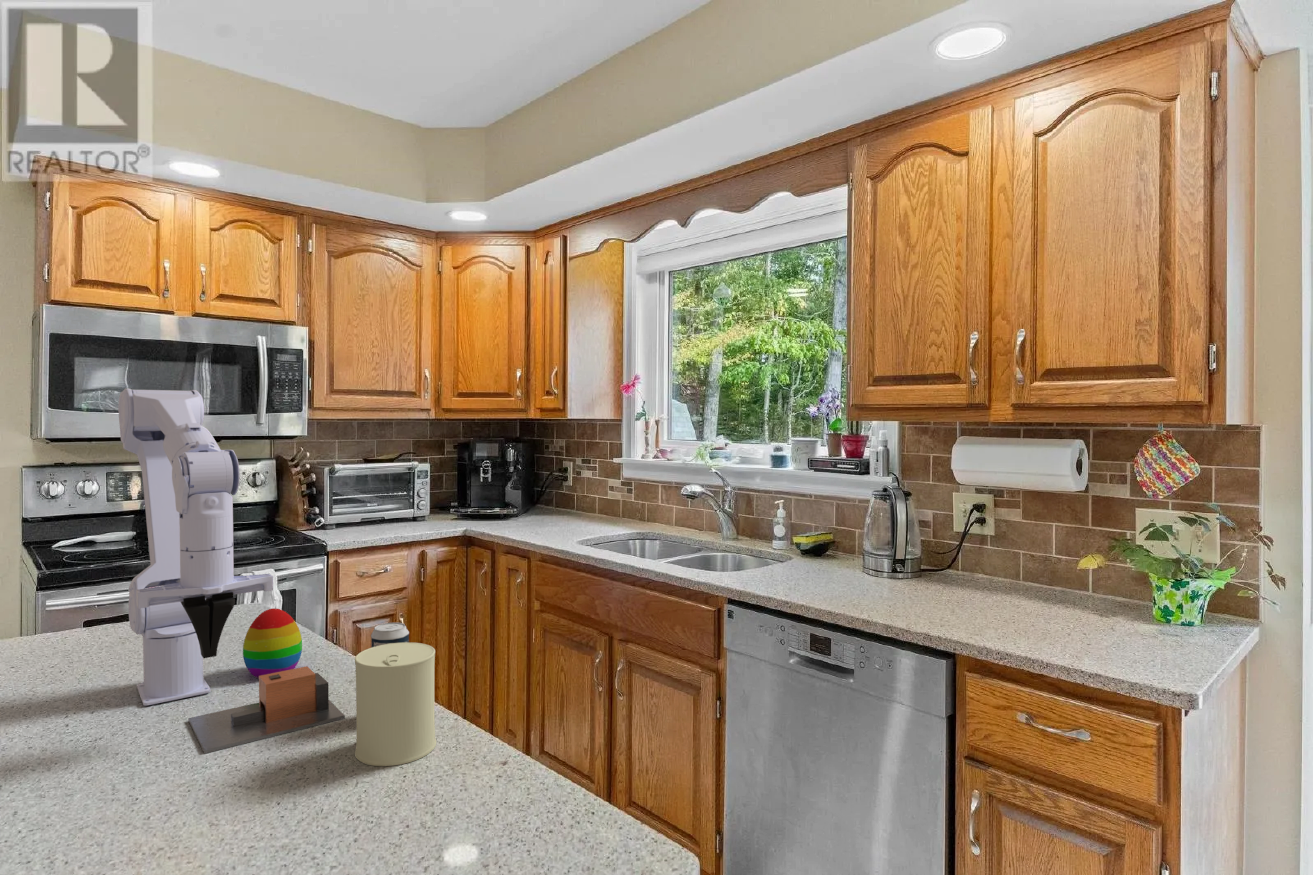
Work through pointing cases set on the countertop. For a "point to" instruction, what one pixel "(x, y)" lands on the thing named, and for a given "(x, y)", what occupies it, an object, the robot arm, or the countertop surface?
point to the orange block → (287, 693)
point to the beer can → (389, 634)
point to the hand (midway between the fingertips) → (208, 655)
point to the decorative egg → (272, 643)
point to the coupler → (258, 722)
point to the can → (395, 703)
